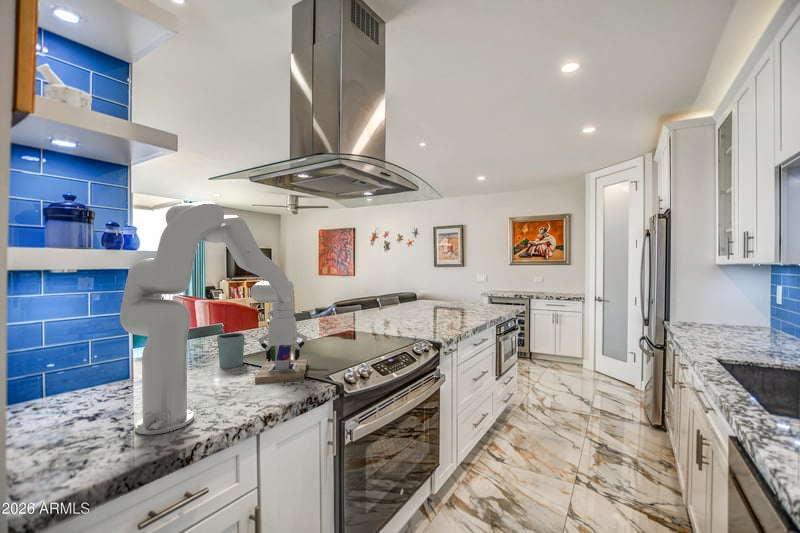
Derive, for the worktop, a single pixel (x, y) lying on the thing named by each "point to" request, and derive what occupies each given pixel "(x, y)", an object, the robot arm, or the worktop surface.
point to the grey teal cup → (231, 349)
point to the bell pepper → (274, 352)
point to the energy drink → (282, 357)
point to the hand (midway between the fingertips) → (283, 360)
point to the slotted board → (281, 372)
